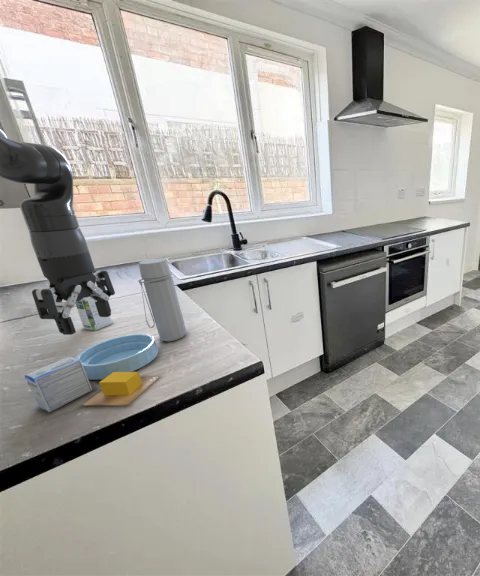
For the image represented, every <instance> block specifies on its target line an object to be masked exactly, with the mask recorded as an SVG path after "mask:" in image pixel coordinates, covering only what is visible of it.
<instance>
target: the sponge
mask: <svg viewBox="0 0 480 576" xmlns="http://www.w3.org/2000/svg"><path fill="white" fill-rule="evenodd" d="M140 377H141V376H140V373H139V371H132V372H113V373H112V374H110V375H109V376H107V377H106V378H105V379H101V380H100V381H99V382H98V383H99V387H100V388H101V391H103V394H104V395H130V394H131V393H133V392H134V391H135V390H136V389H137V388H139V387H140V386H141V385H142V382H141V379H140Z"/></svg>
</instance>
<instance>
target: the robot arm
mask: <svg viewBox="0 0 480 576" xmlns="http://www.w3.org/2000/svg"><path fill="white" fill-rule="evenodd" d="M0 178H1V179H4V180H6V181H9V182H12V183H15V184H21V185H22V184H24V185H33V195H32V196H30V197H28V198H25V199H22V201H20V204H19V207H20V211H21V214H22V217H23V219H24V222H25V225H26V228H27V230H28V233H29V238H30V243H31V246H32V249H33V251H34V254H35V257H36V259H37V262H38V265H39V267H40V270H41V272H42V275H43V277H44V278H46V279H47V280H48V282H49V286H48V287H45V288H35V289H32V291H31V295H32V298H33V301H34V304H35V308H36V310H37V313H38V316H39V318H40V319H41V320H53V321H54V322H55V324H56V326H57V330H58V331H59V333H60V334H62V335H63V336H72V335H75V334H76V333H77V331H76V328H75V325H74V322H73V320H72V317H71V316H70V313H71V310H72V308H74V307H76V304H75V303H76V301H79V300H81V299H83V298H86V297H91V298H92V299H94V300H95V301H96V302H95V305H96V308H97V311H98V314H99V316H100V317H109V316H110V317H111V316H112V309H111V306H110V302H109V300H110V297H111V296H114V295H115V294H116V291H115V288H114V286H113V283H112V281H111V277H110V275H109V272H108V271H107V270H95V265H94V262H93V259H92V256H91V252H90V250H89V246H88V243H87V240H86V238H85V236H84V234H83V232H82V230H81V227H80V224H79V220H78V218H77V214H76V212H75V210H74V175H73V170H72V166H71V165H70V162H69V160H68V159H67V158H66V156H65V155H64V154H63V153H61V151H60V150H58V149H56V148H55V147H53V146H51V145H47V144H43V143H34V142H33V143H32V142H25V141H24V142H23V141H16V140H13V139H10V138H8V136H7V135H6V133H5V132H4V131H3V130H2V129H1V128H0ZM96 285H97V286H96Z"/></svg>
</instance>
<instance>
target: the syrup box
mask: <svg viewBox="0 0 480 576" xmlns="http://www.w3.org/2000/svg"><path fill="white" fill-rule="evenodd" d="M95 285H96V286H97V284H95ZM95 302H96V301H95V300H94V299H92V298H91V297H86V298H83V299H81V300H79V301H76V303H75V307H76V310H77V314H78V316H79V318H80V322H81V324H82V327H83V328H84V329H85V330H89V331H94V332H95V331H98V330H100V329H102V328H106V327H107V326H110V325H113V321H112V318H111V316H109V317H100V316H99V314H98V311H97V308H96V305H95Z"/></svg>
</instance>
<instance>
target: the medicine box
mask: <svg viewBox="0 0 480 576" xmlns="http://www.w3.org/2000/svg"><path fill="white" fill-rule="evenodd" d="M24 378H25V380H26V382H27V385H28V387H29V388H30V390H31V393H32V395H33V398H34V399H35V401H36V404H37V405H38V407H39V408H41V409H42V410H45V411H46V412H48V413H51V412H53V411H55V410H57V409H59V408H61V407H63V406H65V405H67V404H69V403H71V402H73V401H74V400H76V399H78V398H80V397H83V396H84V395H86V394H88V393H90V392H92V391H93V387H92V386H91V382H90V379H88V378H87V375H86V372H85V370H84V367H83V365H82V362H81V360H78V359H76V358H75V357H71V356H67V357H65V358H62V359H60V360H58V361H55V362H52V363H50V364H47V365H45V366H43V367H41V368H38V369H36V370H34V371H31V372H29V373H26V374H24Z"/></svg>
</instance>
